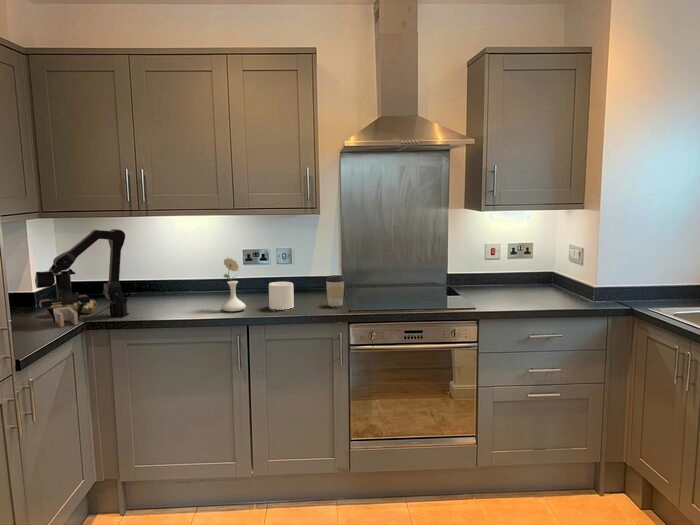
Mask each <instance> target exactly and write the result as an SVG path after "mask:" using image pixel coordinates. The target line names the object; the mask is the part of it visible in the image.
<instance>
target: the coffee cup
mask: <svg viewBox="0 0 700 525" xmlns="http://www.w3.org/2000/svg"><path fill="white" fill-rule="evenodd" d="M325 282H326V286H325V287H326V295H327V302H328V303H327V305H329V306H341V305H342V306H343V302H344V300H343V298H344V293H345V292H344V291H345V290H344V289H345V283H344V282H345V278H344V277H343V276H342V275H339V274H337V275H336V274H335V275H328V276H327V277H326V280H325ZM329 306H328V307H329ZM342 306H341V307H342Z"/></svg>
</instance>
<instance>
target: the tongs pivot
mask: <svg viewBox="0 0 700 525" xmlns="http://www.w3.org/2000/svg"><path fill="white" fill-rule="evenodd" d="M69 308H71V307H65V308H57V309H53V312H54V316H55V311H54V310H59V311H60V312H61V313H62V314H63V318H64V322H66V321H70V320H69V314H68V309H69Z"/></svg>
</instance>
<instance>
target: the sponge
mask: <svg viewBox="0 0 700 525" xmlns="http://www.w3.org/2000/svg"><path fill="white" fill-rule="evenodd" d="M97 305H98V304H97V301H95V300H94V299H90V303H87V305H84V306H83V308H82V310H81V314H92V313H93V312H94V313H95V311H96V309H97ZM52 307H53V309H57V308H65V307H71V308H72V309H73V310H74V311H75V312H77V302H74V304H73V305H71V304H70V305H65V306H64V305H62V304H56V305H52ZM45 314H46V315H49V316H51V315H50V313H49V312H48V310H45Z"/></svg>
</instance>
